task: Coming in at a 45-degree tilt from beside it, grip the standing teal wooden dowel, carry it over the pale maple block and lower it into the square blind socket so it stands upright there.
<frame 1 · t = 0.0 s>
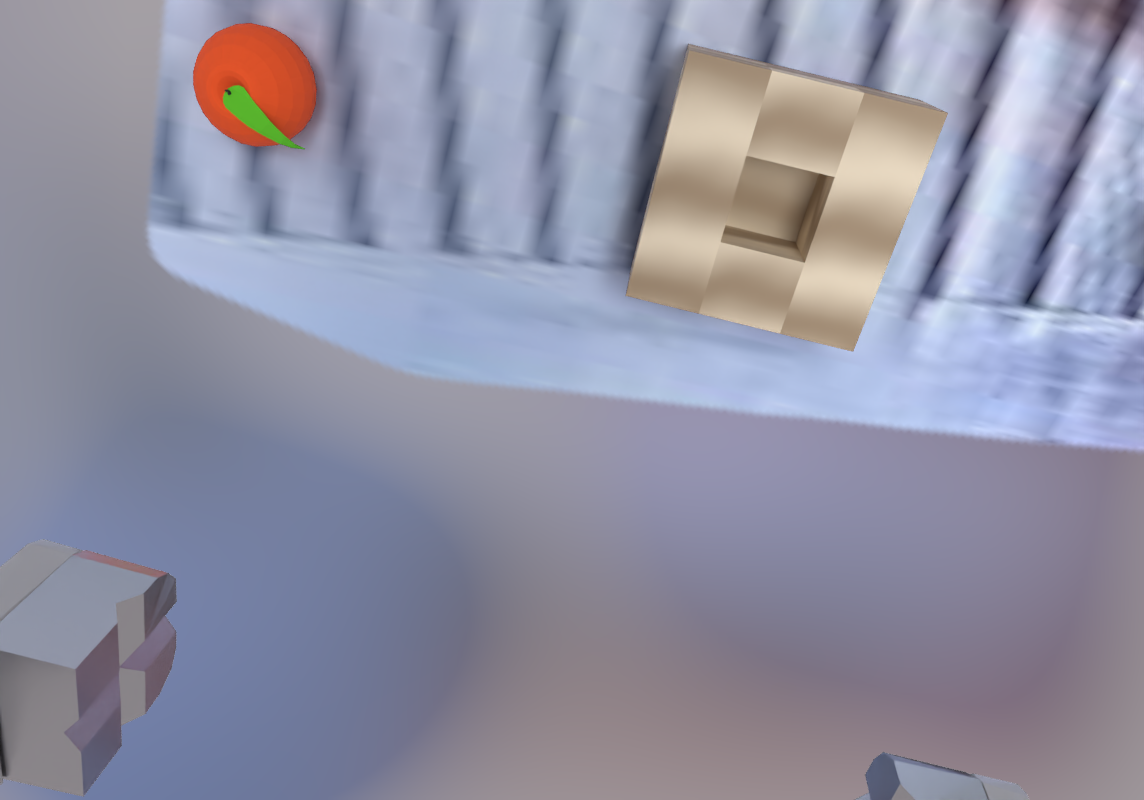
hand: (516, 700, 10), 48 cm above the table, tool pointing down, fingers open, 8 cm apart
maple block: (766, 188, 54), on the table
clementine: (288, 87, 55), on the table
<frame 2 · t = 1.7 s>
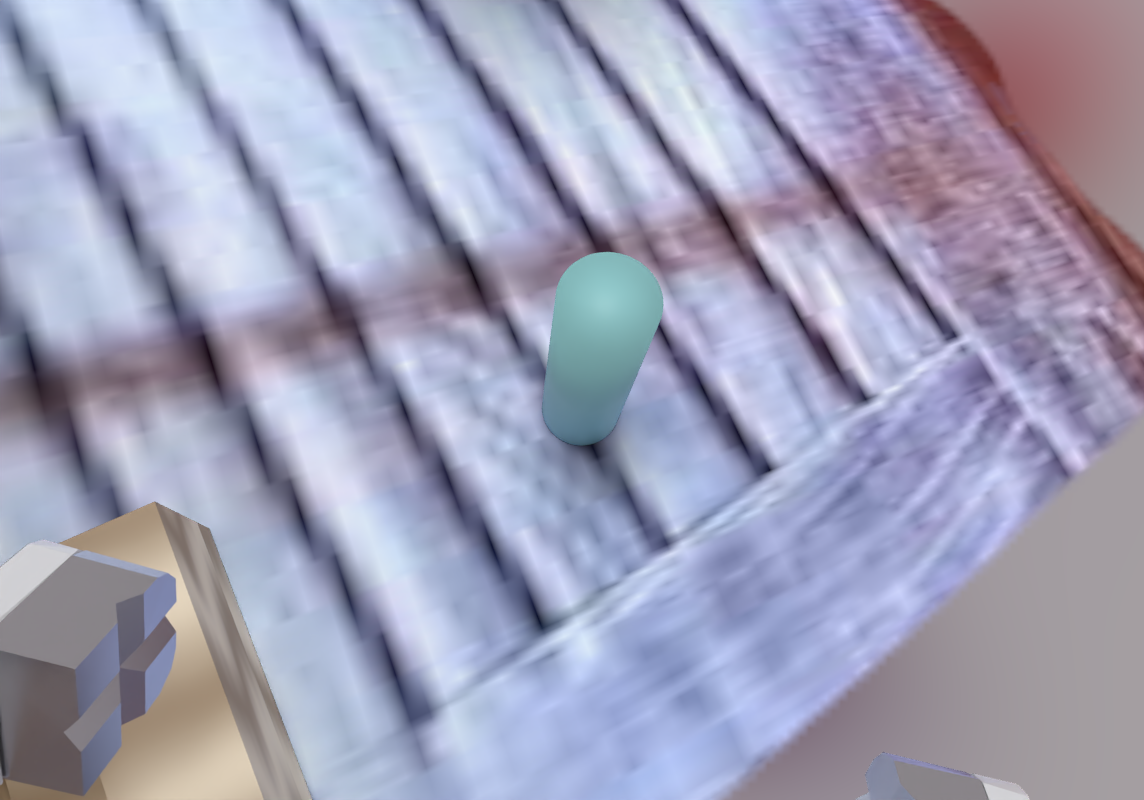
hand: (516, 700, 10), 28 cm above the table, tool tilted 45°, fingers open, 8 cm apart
maple block: (96, 764, 34), on the table
teal pin: (580, 408, 40), on the table
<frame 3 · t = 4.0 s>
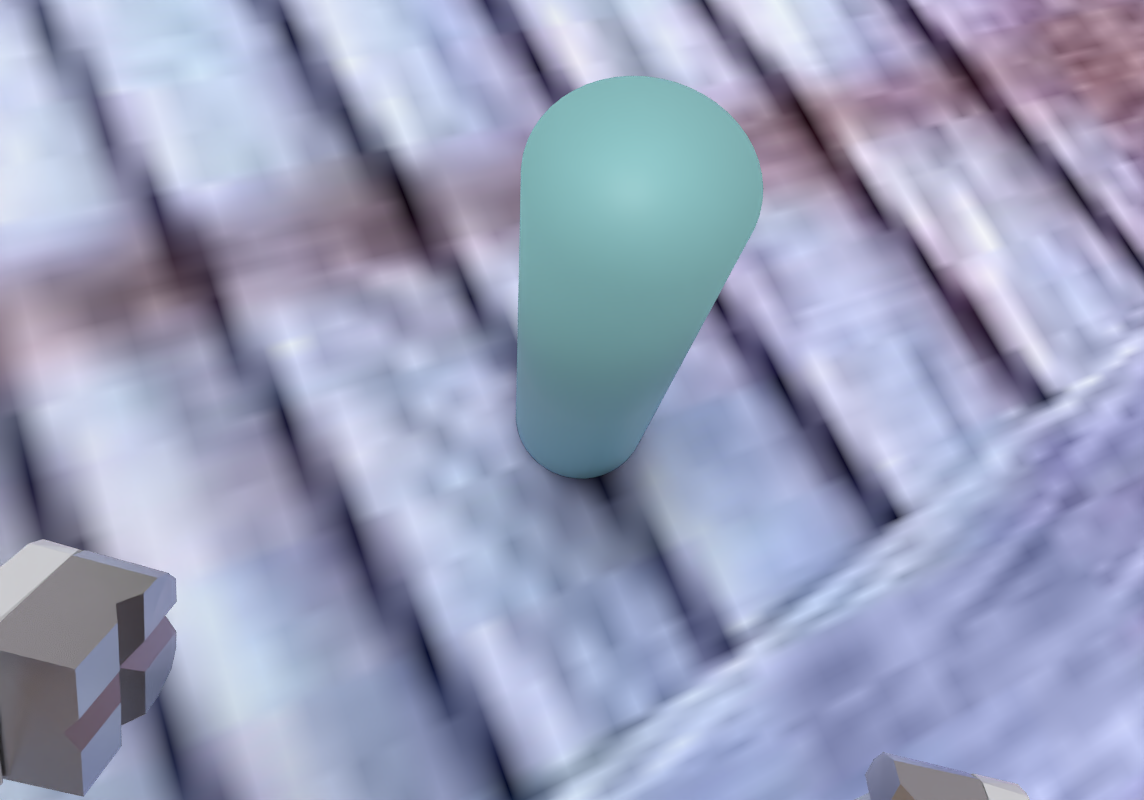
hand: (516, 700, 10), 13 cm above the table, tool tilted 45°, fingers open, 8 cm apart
teal pin: (580, 415, 24), on the table
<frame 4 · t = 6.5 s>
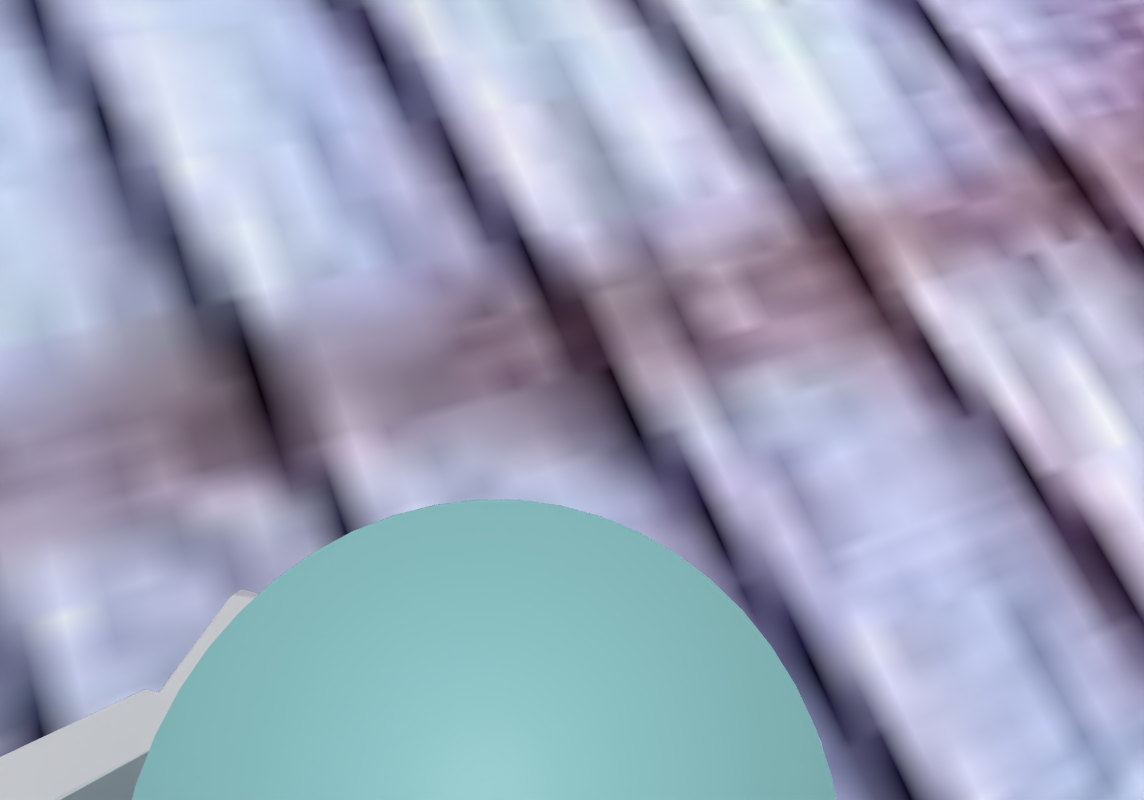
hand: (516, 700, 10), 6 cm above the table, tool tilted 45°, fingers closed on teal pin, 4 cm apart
teal pin: (506, 729, 16), on the table, touching gripper
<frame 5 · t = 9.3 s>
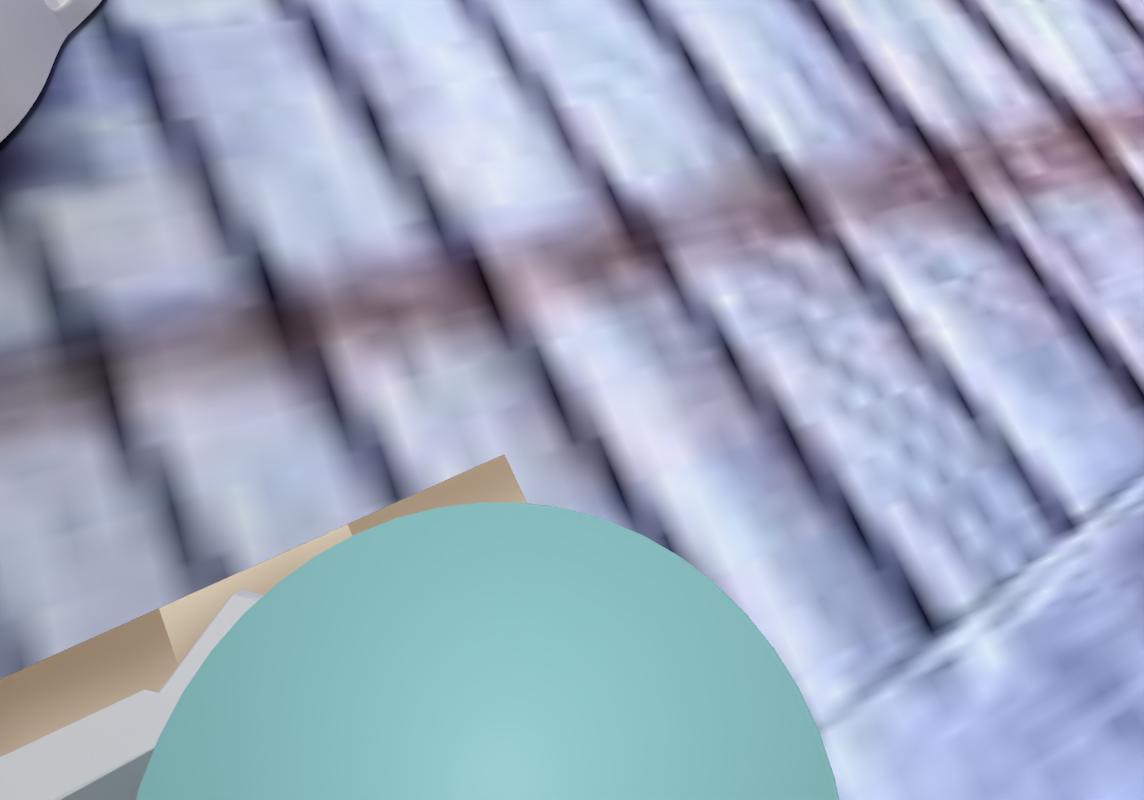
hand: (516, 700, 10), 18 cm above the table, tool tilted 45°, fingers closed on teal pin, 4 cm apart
teal pin: (506, 730, 16), point 12 cm above the table, touching gripper
when the fingers open (10 cm above the table, at t = 11.9 s): teal pin drops 2 cm, resting on maple block.
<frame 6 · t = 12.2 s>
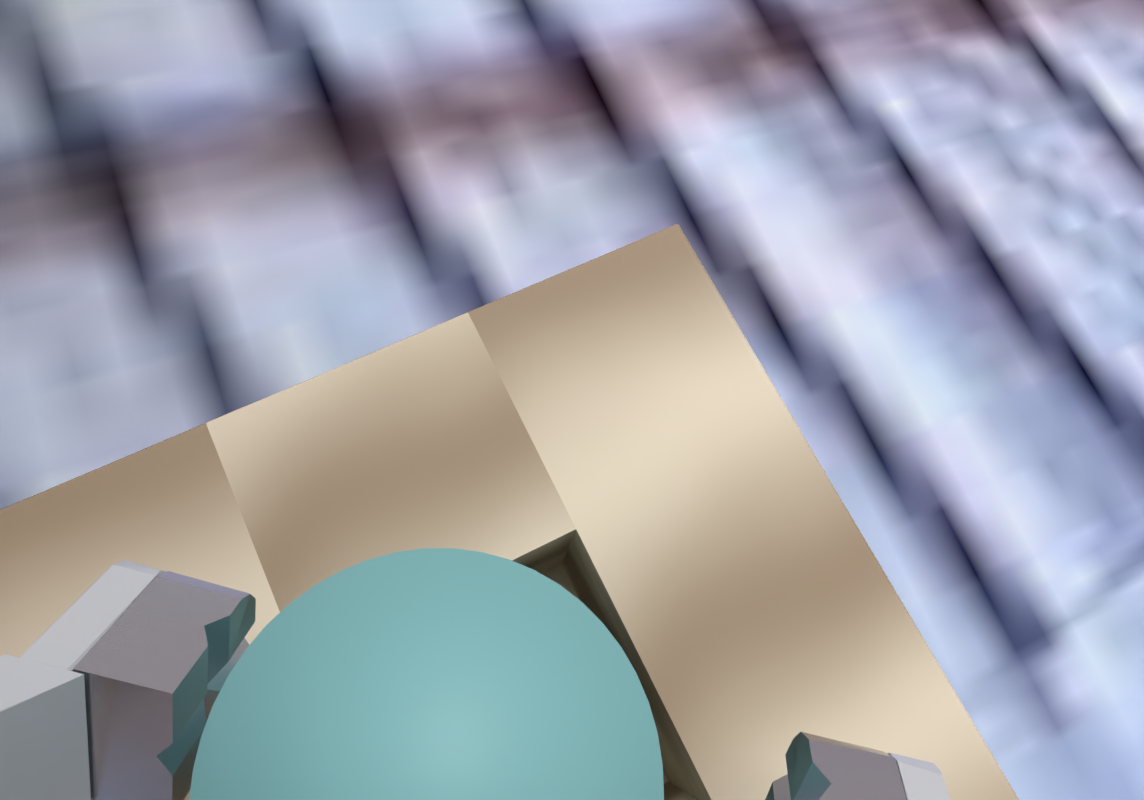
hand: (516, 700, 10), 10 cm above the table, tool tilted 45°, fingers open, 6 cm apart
maple block: (508, 721, 19), on the table
teal pin: (506, 725, 18), point 2 cm above the table, touching maple block
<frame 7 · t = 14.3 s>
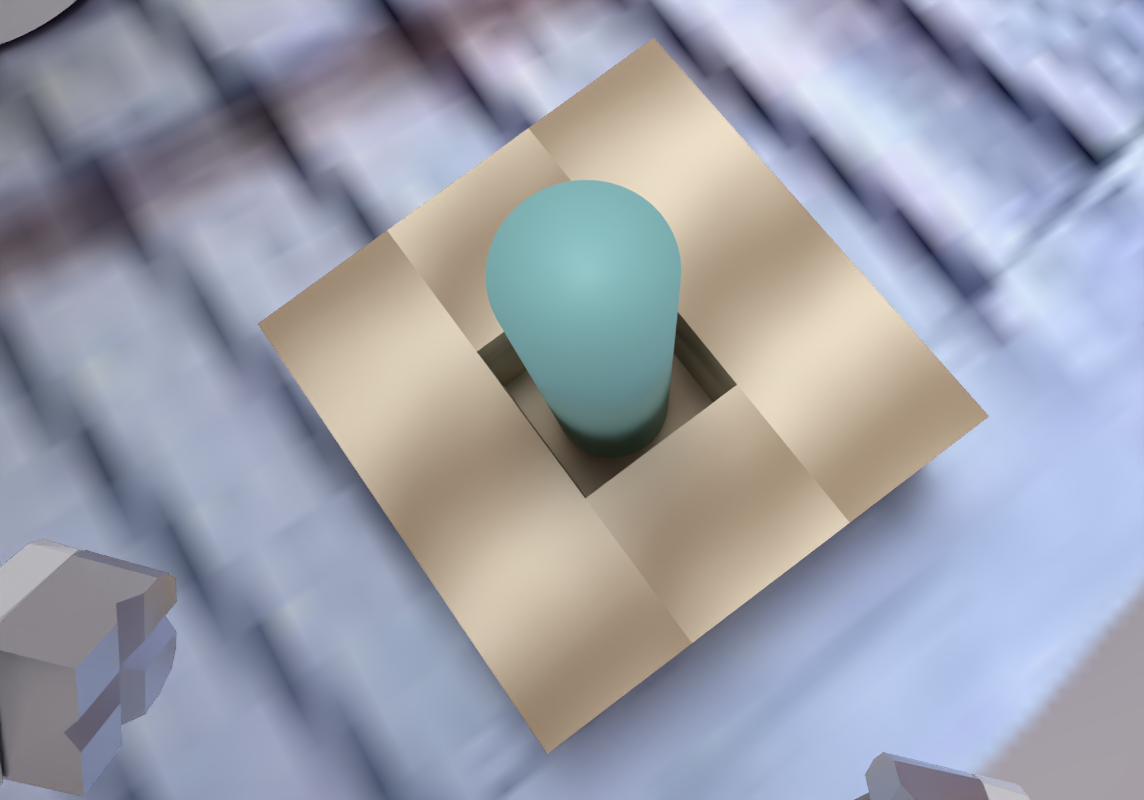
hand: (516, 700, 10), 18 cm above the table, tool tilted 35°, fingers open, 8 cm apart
maple block: (614, 409, 29), on the table
teal pin: (611, 401, 27), point 2 cm above the table, touching maple block
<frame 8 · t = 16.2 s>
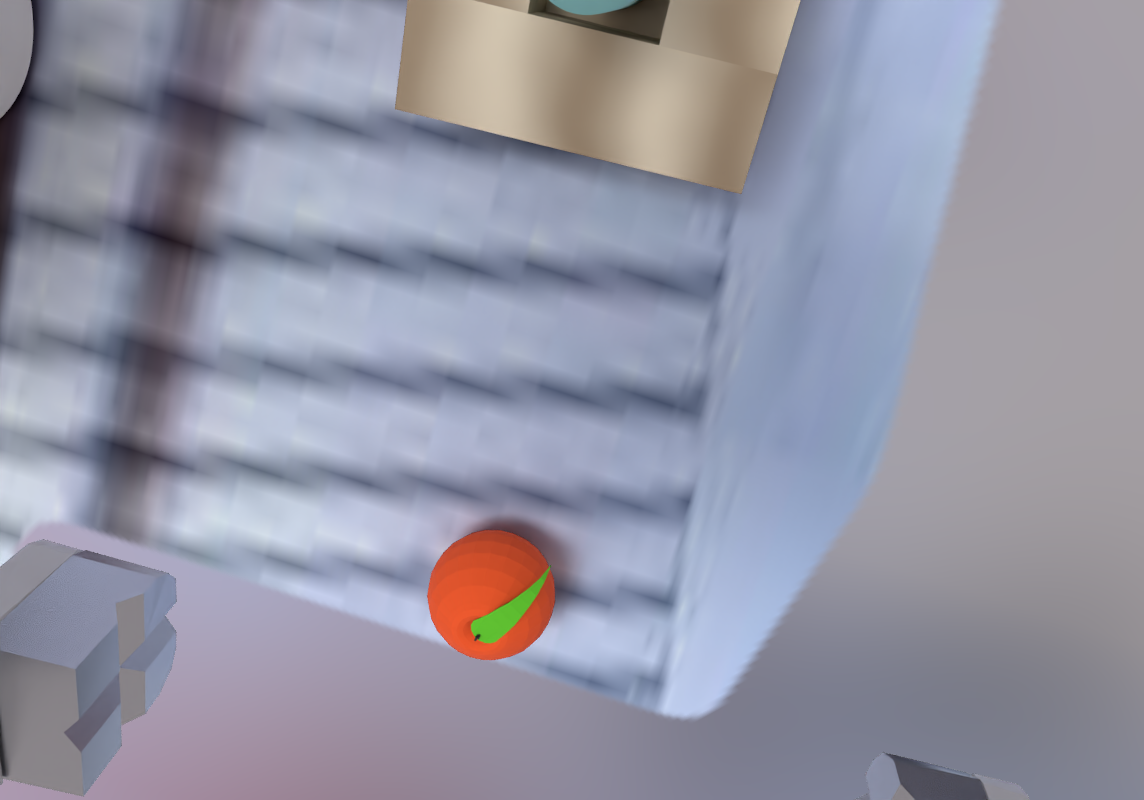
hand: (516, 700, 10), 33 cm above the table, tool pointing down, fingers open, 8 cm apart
clementine: (511, 549, 50), on the table
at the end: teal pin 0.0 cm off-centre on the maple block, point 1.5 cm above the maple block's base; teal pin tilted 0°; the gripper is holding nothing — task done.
